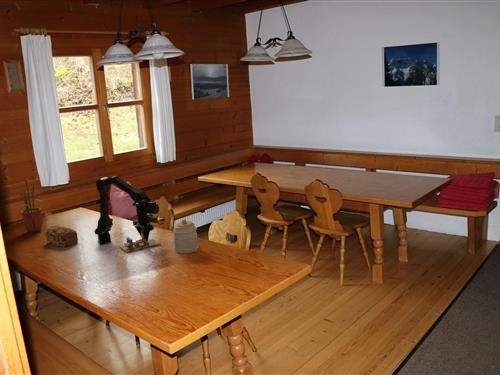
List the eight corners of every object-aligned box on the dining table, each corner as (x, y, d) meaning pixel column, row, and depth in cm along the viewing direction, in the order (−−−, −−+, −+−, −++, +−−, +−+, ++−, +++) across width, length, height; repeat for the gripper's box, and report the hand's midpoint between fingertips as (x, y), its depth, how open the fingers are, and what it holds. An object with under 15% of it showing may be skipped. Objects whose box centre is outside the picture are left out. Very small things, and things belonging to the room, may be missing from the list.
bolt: (125, 247, 271) (124, 237, 270) (124, 246, 273) (122, 236, 272) (148, 241, 278) (147, 232, 277) (146, 240, 280) (145, 231, 279)
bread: (46, 243, 296) (43, 228, 294) (61, 238, 305) (59, 223, 303) (63, 248, 285) (61, 231, 283) (79, 242, 294) (77, 226, 292)
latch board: (126, 253, 267) (125, 242, 266) (120, 248, 277) (119, 237, 275) (160, 245, 278) (159, 234, 276) (153, 240, 287) (152, 230, 285)
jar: (194, 254, 259) (191, 222, 255) (171, 253, 262) (168, 222, 258) (201, 245, 271) (198, 215, 268) (179, 245, 274) (176, 216, 270)
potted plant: (24, 230, 328) (15, 180, 321) (48, 226, 334) (40, 177, 327) (24, 237, 312) (14, 184, 305) (49, 232, 319) (41, 181, 311)
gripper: (161, 213, 271) (164, 239, 274) (149, 207, 286) (152, 232, 290) (142, 217, 265) (145, 244, 269) (131, 211, 281) (134, 236, 284)
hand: (144, 239), depth 278 cm, fingers open, 7 cm apart
